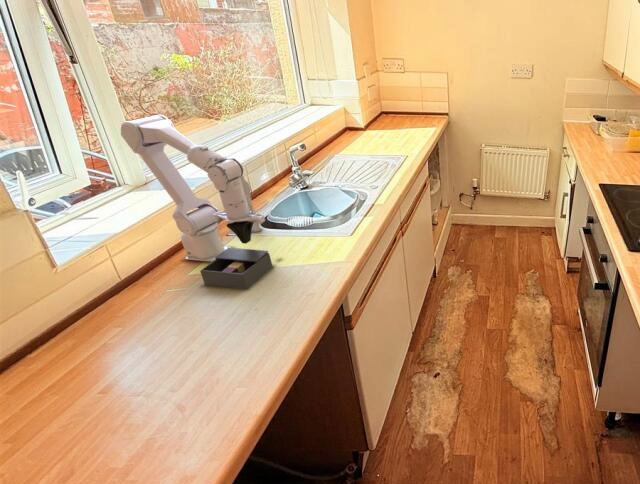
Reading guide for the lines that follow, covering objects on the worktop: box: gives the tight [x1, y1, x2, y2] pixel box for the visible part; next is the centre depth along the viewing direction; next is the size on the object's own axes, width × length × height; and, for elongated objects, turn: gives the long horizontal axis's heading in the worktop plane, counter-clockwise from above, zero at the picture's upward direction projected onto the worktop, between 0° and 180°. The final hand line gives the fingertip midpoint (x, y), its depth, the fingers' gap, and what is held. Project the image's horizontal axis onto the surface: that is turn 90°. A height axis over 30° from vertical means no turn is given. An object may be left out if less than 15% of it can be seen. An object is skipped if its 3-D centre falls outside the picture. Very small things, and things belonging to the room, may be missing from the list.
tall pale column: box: [240, 174, 262, 233], centre depth 136 cm, size 11×4×22 cm, turn 82°
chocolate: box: [221, 261, 252, 274], centre depth 115 cm, size 3×8×4 cm, turn 173°
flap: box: [215, 247, 269, 262], centre depth 116 cm, size 13×5×1 cm, turn 83°
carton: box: [199, 252, 274, 290], centre depth 115 cm, size 13×11×5 cm
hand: (246, 241), depth 120 cm, fingers closed
